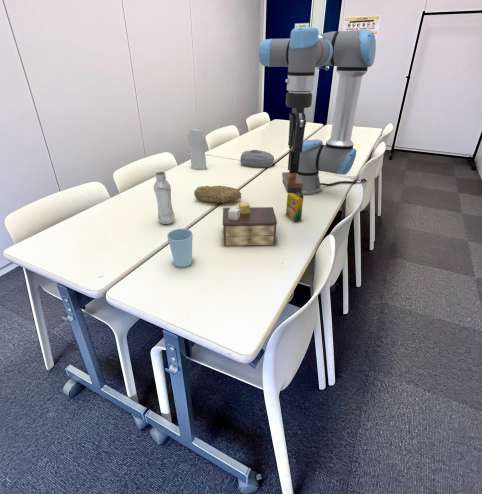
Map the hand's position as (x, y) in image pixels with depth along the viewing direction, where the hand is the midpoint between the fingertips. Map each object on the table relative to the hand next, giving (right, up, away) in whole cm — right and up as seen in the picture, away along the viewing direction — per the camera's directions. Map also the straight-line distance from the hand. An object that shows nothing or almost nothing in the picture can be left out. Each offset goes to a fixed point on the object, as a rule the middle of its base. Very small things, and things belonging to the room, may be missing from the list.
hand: (292, 171), depth 105 cm
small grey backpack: (-7, +25, +88) cm, 92 cm away
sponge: (-27, -4, +41) cm, 50 cm away
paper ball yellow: (-16, -12, +10) cm, 22 cm away
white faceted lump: (-19, -15, +6) cm, 25 cm away
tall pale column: (-41, +21, +82) cm, 94 cm away
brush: (0, -5, +3) cm, 6 cm away
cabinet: (-14, -21, +13) cm, 28 cm away
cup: (-36, -30, -1) cm, 47 cm away
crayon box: (+4, -13, +26) cm, 29 cm away
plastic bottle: (-47, -15, +23) cm, 54 cm away
